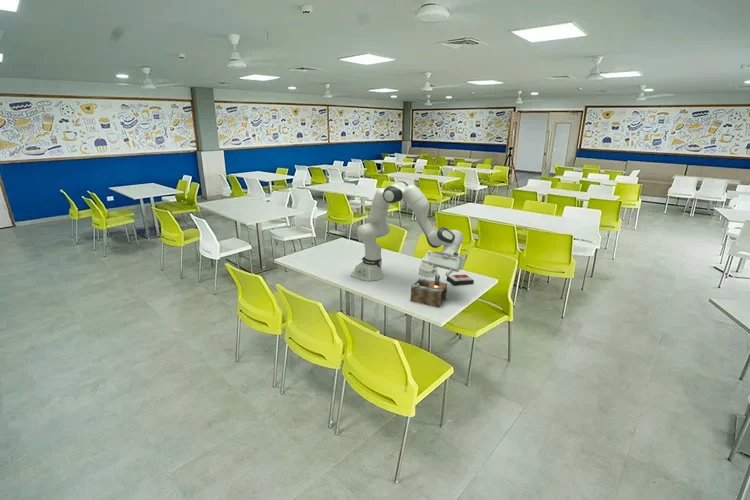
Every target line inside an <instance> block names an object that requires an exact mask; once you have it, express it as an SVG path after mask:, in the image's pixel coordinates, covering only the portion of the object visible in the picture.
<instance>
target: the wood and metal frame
mask: <svg viewBox="0 0 750 500" xmlns="http://www.w3.org/2000/svg"><path fill="white" fill-rule="evenodd" d="M434 281H435V280H431V279H425V278H420V277H419V278H418V279H417V280H416V281H415V282H413V284H412V285H411V286H410V288H411V289H410V302H413V303H418V304H421V305H426V306H430V307H435V308H440V307H441V300H447V295H448V283H444V282H443V283H444V284H445V288H444V289H439V290H438V289H432V288H430V287H429V286H428V284H429V283H430V282H434ZM441 292H442V295H441Z"/></svg>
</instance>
